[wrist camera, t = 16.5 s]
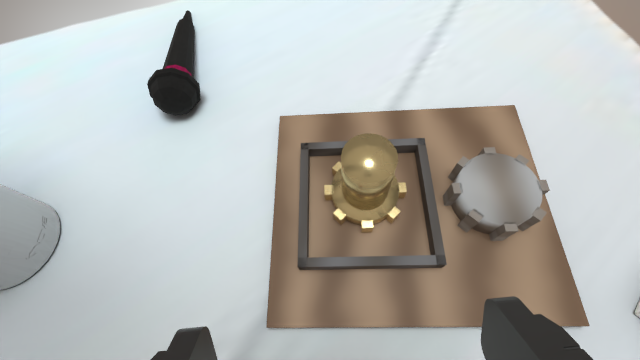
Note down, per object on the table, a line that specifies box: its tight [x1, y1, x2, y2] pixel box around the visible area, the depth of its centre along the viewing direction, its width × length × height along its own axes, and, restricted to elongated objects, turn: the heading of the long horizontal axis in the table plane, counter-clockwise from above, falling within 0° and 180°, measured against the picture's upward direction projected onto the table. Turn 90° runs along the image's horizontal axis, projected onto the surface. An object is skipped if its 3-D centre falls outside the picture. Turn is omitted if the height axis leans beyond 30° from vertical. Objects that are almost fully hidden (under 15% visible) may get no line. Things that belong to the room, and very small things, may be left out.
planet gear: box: [324, 133, 407, 233], centre depth 28 cm, size 8×8×8 cm
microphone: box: [147, 11, 200, 115], centre depth 41 cm, size 6×6×20 cm
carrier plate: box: [267, 105, 589, 328], centre depth 30 cm, size 26×22×4 cm
